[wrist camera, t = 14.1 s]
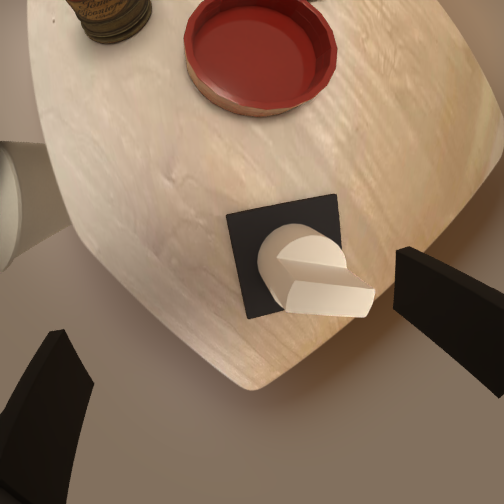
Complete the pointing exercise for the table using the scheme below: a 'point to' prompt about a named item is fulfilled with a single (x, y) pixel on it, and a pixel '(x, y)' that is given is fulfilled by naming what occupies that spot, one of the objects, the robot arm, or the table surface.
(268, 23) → the red round dish
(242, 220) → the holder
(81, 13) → the container
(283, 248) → the base with upright slab
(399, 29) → the table surface
